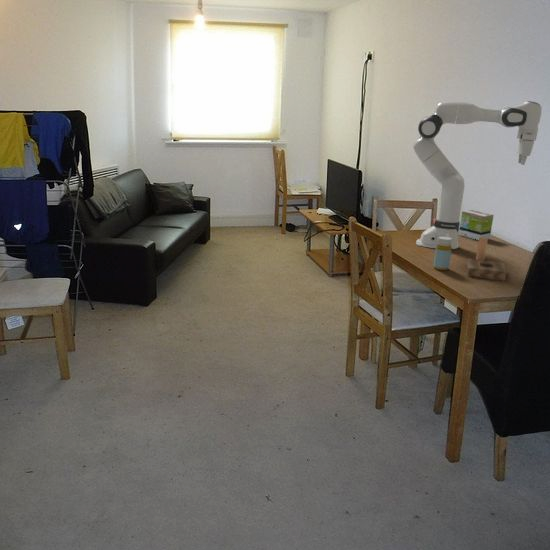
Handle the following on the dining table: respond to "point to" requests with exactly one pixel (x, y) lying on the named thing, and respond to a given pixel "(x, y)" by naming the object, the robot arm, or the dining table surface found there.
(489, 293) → the dining table surface
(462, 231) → the tea box
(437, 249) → the bottle
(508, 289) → the dining table surface
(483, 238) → the peg
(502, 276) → the socket block
